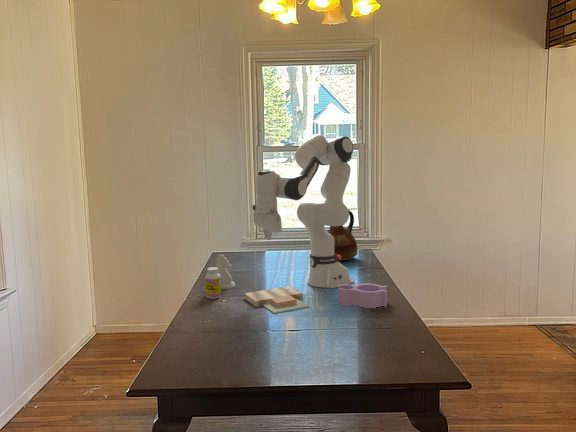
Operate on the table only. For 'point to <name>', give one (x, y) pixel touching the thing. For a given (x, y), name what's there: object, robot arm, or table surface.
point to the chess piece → (224, 272)
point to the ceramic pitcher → (344, 240)
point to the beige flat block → (271, 295)
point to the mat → (286, 307)
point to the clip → (362, 295)
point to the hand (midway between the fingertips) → (268, 239)
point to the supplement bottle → (213, 283)
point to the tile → (283, 301)
